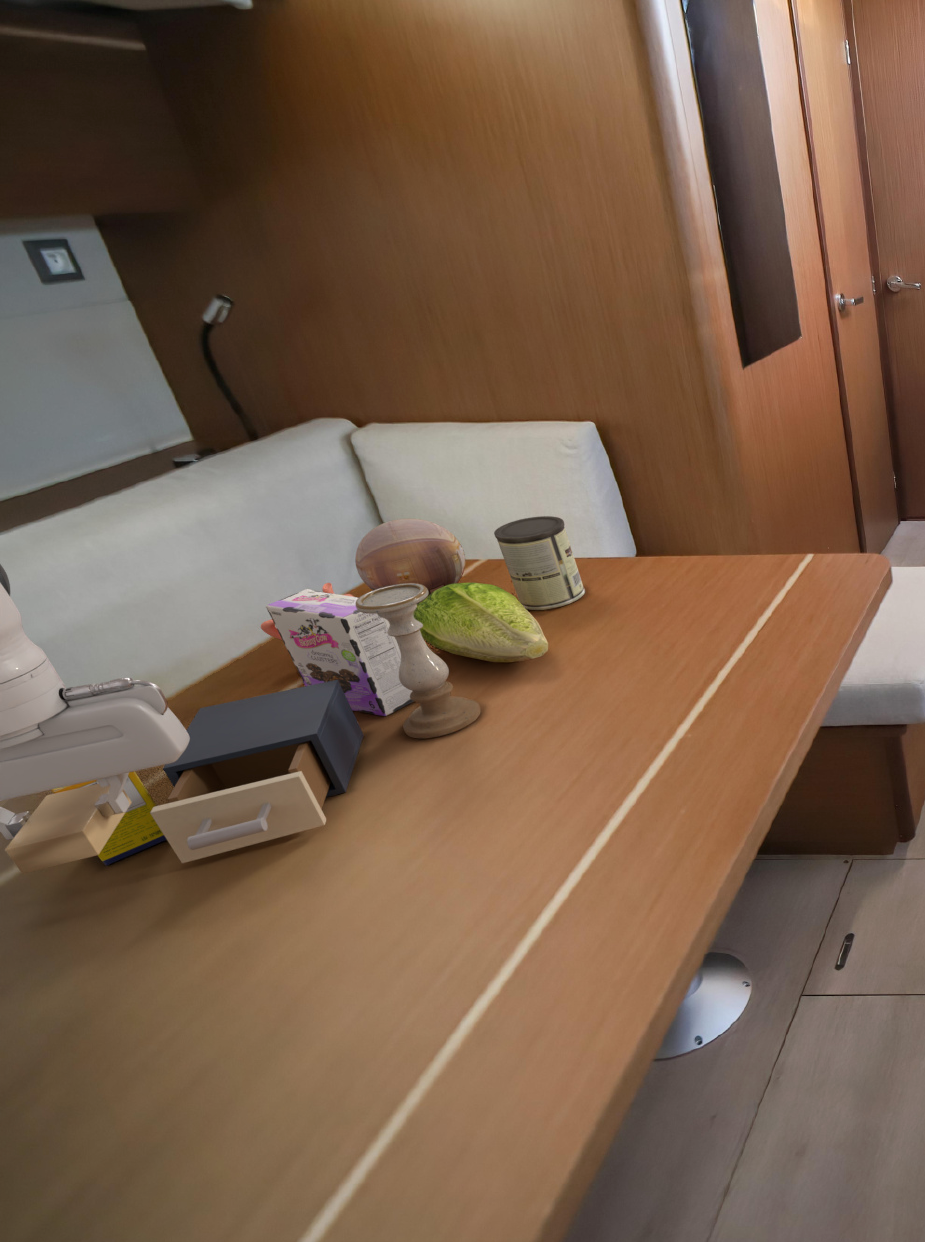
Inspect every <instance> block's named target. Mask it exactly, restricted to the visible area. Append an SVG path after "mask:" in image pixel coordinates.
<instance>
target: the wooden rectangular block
mask: <svg viewBox="0 0 925 1242" xmlns="http://www.w3.org/2000/svg"><path fill="white" fill-rule="evenodd" d="M109 789H110V785H109V786H106V787H101V786H100V785H99V784H95V785H91V786H86V787H82V788H77V789H73V790H68V791H64V792H59V793H55V794H53V793H51V794H46V796H45V797H44V798H43V799H42V800H41V802H40V803H39V804H38V806H37V807H36V808H35V810H34V811H33V812H32V813H31V814H30V815H31V817H30V818H29V819H28V820H27V821H26V823H25V824H24V826H23V827H22V828H21V829H20V830H19V832H18V833H17V834H16V836H15V837H14V838H13V839H11V841H10V842H9V843H8V845H7V846H6V847H5V848H4V851H5V852H6V854H7V855H8V857H9V858H10V859H11V861H12V862H13V863H14V865H15V866H16V868H17V869H18V870H19V871H20V873H21V874H22V875H23V874H29V873H32V872H36V871H40V870H44V869H48V868H52V867H56V866H60V865H64V864H68V863H71V862H76V861H81V860H84V859H88V858H93V857H96V856H98V855H99V853H100V852H101V850H102V849H103V847H104V846H105V844H106V842H107V841H108V839H109V838H110V836H111V835H112V833H113V831H114V830H115V828H116V827H117V825H118V823H119V822H120V820H121V819H122V817H123V816H124V814H125V812H124V813H120V814H116V815H111V816H107V817H103V816H102V815H101V811H99V810H98V809H96V807H95V805H94V804H95V803H96V801H98V800H99V797H100V796H101V795H103V794H107V793H108V792H109ZM123 793H124V795H125V796H126V798H127V799H128V801H129V806H130V805H131V803H132V802H131V800H130V799H129V797H128V796H127V794H126V792H125V791H124V789H123ZM128 808H129V807H128ZM126 811H127V810H126Z"/></svg>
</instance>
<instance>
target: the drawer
mask: <svg viewBox="0 0 925 1242" xmlns="http://www.w3.org/2000/svg"><path fill="white" fill-rule="evenodd" d="M330 783H331V779H330V777H329V775H328V773H327V771H326V769H325V767H324V765H323V763H322V761H321V759H320V757H319V755H318V753H317V751H316V749H315V747H314V745H313V744H312V742H311V741H307V742H302V743H298V744H294V745H289V746H285V747H281V748H276V749H272V750H268V751H263V752H259V753H255V754H250V755H246V756H242V757H237V758H233V759H229V760H224V761H220V762H216V763H212V764H207V765H203V766H199V767H194V768H190V769H186V770H184V772H183V773H182V775H181V777H180V778H179V780H178V782H177V784H176V785H175V787H174V786H173V789H172V790H171V792H170V794H169V796H168V797H167V802H168V803H164V804H160V805H157V806H155V807H153V809H152V810H151V812H150V814H151V815H152V817H153V818H154V820H155V821H156V823H157V825H158V826H159V828H160V829H161V831H162V833H163V834H164V836H165V837H166V839H167V840H166V841H167V843H168V844H169V845H170V847H171V848H172V850H173V852H174V854H175V855H176V856H177V858H178V859H179V862H180V863H181V864H186V863H188V862H193V861H197V860H200V859H201V860H202V859H205V858H207V857H212V856H215V855H218V854H223V853H227V852H230V851H233V850H238V849H242V848H245V847H248V846H253V845H257V844H260V843H264V842H268V841H271V840H275V839H278V838H282V837H286V836H289V835H294V834H297V833H298V834H299V833H301V832H305V831H309V830H312V829H316V828H319V827H323V826H325V825H326V823H327V817H326V816H325V814H324V811H323V810H322V809H323V807H324V803H325V800H326V799H327V797H326V795H327V792H328V789H329V786H330Z"/></svg>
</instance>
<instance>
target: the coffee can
mask: <svg viewBox="0 0 925 1242" xmlns="http://www.w3.org/2000/svg"><path fill="white" fill-rule="evenodd" d="M493 532H494V533H493V535H494V537H495V539H496V541H497V544H498V546H499V549H500V552H501V555H502V557H503V560H504V563H505V565H506V568H507V571H508V574H509V577H510V579H511V583H512V585H513V588H514V591H515V594H516V596H517V599H518V601H519V602H520V603H521V604H522V605H523V606H524V608H525V609H526V610H527V611H528V610H529V611H530V610H531V611H546V610H552V609H556V608H557V609H558V608H560V607H563V606H568V605H570V604H572V603H574V602H577V601H578V600H579V599H581V598H582V597H584V595H585V593H586V589H585V587H584V584H583V581H582V578H581V575H580V571H579V568H578V566H577V562H576V559H575V555H574V552H573V550H572V546H571V542H570V541H569V540H570V539H569V537H568V534H567V531H566V527H565V521H564V519H563V518H561V517H558V516H553V515H552V516H550V515H547V516H545V515H541V516H532V517H526V518H520V519H516V520H514V521H513V520H512V521H510V522H508V523H505V524H502V525H501V526H499V527H497V528H496V529H495V530H494V531H493Z"/></svg>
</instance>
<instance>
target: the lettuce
mask: <svg viewBox="0 0 925 1242" xmlns="http://www.w3.org/2000/svg"><path fill="white" fill-rule="evenodd" d="M413 614H414V618H415V619H416V620H417V621H419V622H421V623H422V624H423V627H422V629H420V631H421V635H422V637H423V639H424V641H425V643H426V644H429V645H431V646H432V647H434V648H436V649H438V650H442V651H445V652H448V653H449V654H453V655H457V656H461V657H466V658H471V659H476V660H481V661H485V662H490V663H517V662H523V661H529V660H533V659H536V658H541V657H543V656H544V655H545V654H547V652H548V651H549V642H548V640H547V638H546V636H545V634H544V632H543V629H542V628H541V625H540V623H539V621H538V620H537V619H536V618H535V617H534V615H532V613H530V612H529V611H528V609H525V608H524V606H523V605H522V604H521V603H520V602H519V599H518V597H516V596H514V595H513V594H512V593H510V592H508V591H506V590H505V589H504V588H501V586H497V585H494V584H492V583H482V582H481V583H480V582H458V583H454V584H450V585H446V586H444V587H441V588H439V589H437V590H435V591H433V592H432V593H431V594H430V595H429V596H428V597H427V598H426V599H425V600H423V601H422V602H419V603H417V608H416V609H415V611H414V613H413Z"/></svg>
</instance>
